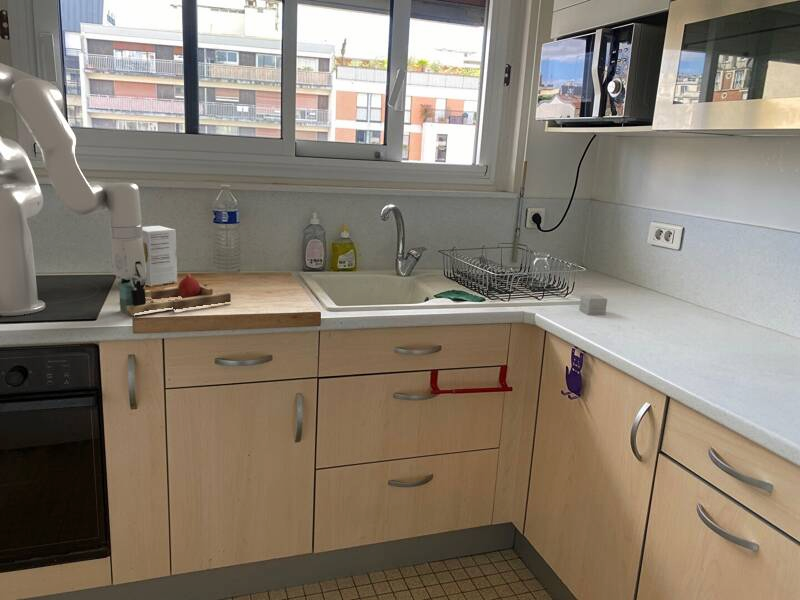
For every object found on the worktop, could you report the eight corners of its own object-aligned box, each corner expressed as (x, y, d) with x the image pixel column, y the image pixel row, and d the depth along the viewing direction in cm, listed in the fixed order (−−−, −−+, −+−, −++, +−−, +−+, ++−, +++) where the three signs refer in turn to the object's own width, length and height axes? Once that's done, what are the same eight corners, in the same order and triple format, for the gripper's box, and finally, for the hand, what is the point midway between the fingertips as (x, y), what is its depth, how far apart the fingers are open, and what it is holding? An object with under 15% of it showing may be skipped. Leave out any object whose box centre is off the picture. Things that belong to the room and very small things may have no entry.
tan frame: (133, 316, 163) (131, 289, 161) (117, 308, 170) (115, 282, 168) (214, 303, 178) (213, 278, 177) (197, 296, 185) (196, 272, 183)
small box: (605, 315, 187) (608, 298, 186) (587, 315, 186) (589, 298, 184) (596, 310, 192) (598, 293, 191) (578, 310, 191) (580, 294, 190)
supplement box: (134, 281, 199) (131, 227, 195) (161, 277, 206) (159, 224, 202) (150, 287, 194) (147, 231, 189) (178, 283, 200) (176, 228, 196)
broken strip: (126, 303, 175) (125, 294, 175) (124, 302, 176) (123, 293, 176) (198, 292, 190) (198, 284, 189) (195, 291, 191) (195, 283, 190)
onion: (177, 300, 181) (175, 272, 179) (198, 298, 183) (197, 270, 181) (180, 305, 176) (179, 276, 174) (202, 303, 178) (201, 275, 176)
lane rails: (175, 313, 168) (175, 302, 168) (151, 301, 178) (151, 291, 177) (230, 304, 179) (230, 293, 179) (205, 293, 189) (204, 283, 188)
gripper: (97, 230, 166) (105, 298, 171) (126, 238, 154) (133, 311, 159) (126, 227, 171) (133, 294, 176) (156, 235, 159) (163, 306, 164)
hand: (133, 301), depth 167 cm, fingers closed on tan frame, 6 cm apart
